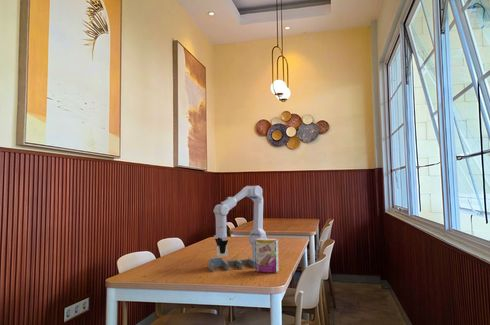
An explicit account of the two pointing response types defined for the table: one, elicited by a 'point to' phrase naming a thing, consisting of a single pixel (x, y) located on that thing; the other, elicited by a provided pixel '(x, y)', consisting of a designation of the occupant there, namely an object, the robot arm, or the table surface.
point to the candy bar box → (266, 255)
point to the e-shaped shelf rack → (229, 263)
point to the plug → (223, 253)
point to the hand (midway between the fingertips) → (221, 252)
